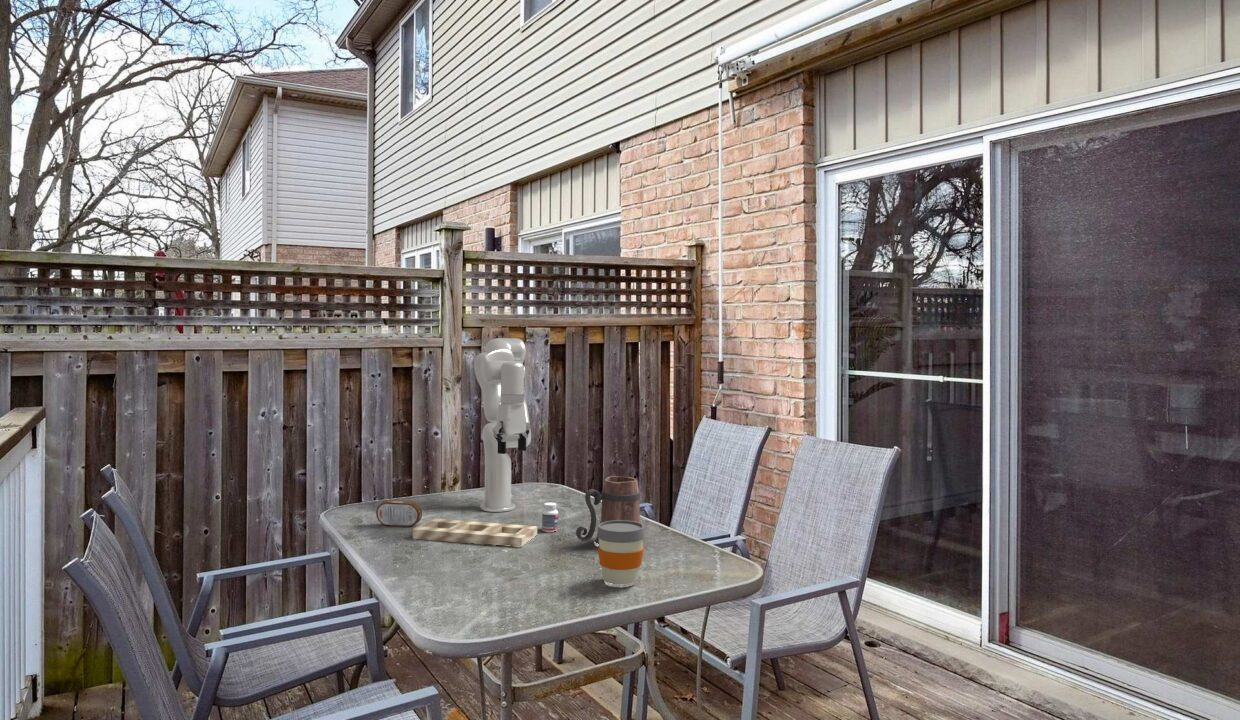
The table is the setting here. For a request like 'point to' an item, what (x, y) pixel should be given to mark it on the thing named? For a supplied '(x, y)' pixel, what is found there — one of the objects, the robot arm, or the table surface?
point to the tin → (399, 513)
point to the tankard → (613, 503)
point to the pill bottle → (550, 518)
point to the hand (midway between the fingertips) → (512, 452)
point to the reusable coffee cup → (620, 550)
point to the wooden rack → (475, 532)
